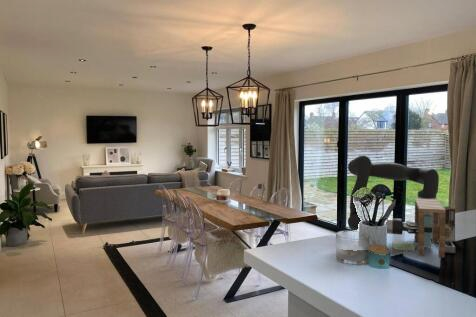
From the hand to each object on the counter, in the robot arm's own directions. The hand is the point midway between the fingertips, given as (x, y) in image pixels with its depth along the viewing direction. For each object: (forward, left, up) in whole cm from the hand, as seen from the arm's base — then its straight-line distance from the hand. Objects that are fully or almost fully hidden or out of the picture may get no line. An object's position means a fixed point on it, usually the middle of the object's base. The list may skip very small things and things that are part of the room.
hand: (431, 228), depth 166 cm
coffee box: (-17, +7, -10) cm, 21 cm away
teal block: (0, -3, -8) cm, 8 cm away
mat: (0, -12, -9) cm, 15 cm away
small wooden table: (0, -1, -9) cm, 9 cm away
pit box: (0, +7, -9) cm, 12 cm away
